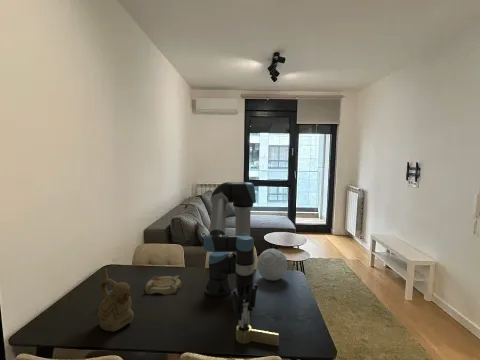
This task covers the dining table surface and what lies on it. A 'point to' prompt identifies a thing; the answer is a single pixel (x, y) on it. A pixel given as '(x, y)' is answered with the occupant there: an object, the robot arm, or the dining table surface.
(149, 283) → the ashtray
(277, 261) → the decorative sphere
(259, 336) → the hinge
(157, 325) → the dining table surface
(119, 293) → the ceramic vessel
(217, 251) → the robot arm
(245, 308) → the pin
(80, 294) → the dining table surface
